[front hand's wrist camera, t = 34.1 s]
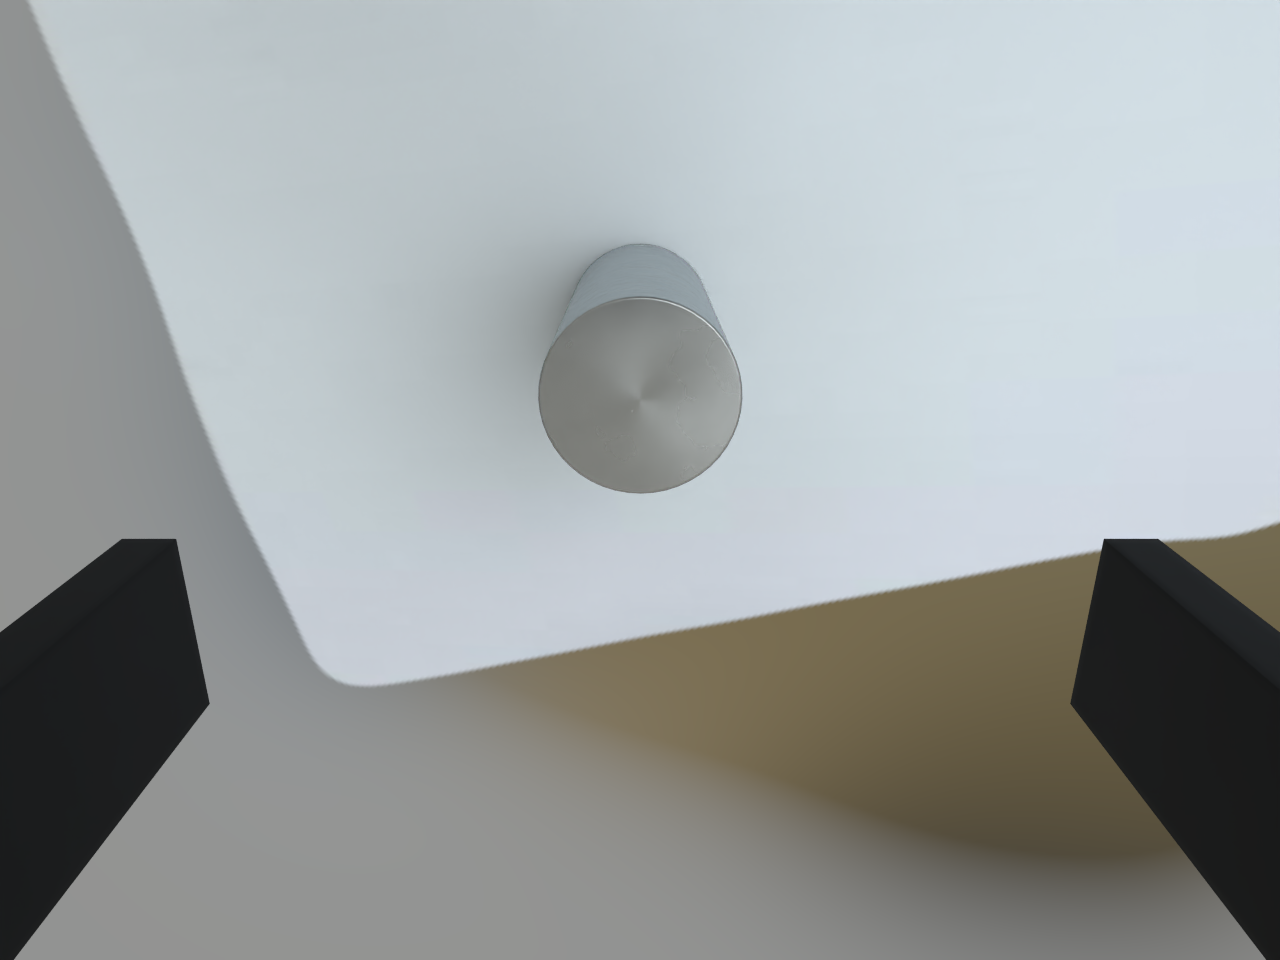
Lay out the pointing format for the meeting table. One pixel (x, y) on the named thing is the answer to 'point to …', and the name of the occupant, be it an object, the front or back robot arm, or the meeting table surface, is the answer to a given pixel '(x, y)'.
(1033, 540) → the meeting table surface
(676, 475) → the tin
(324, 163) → the meeting table surface
